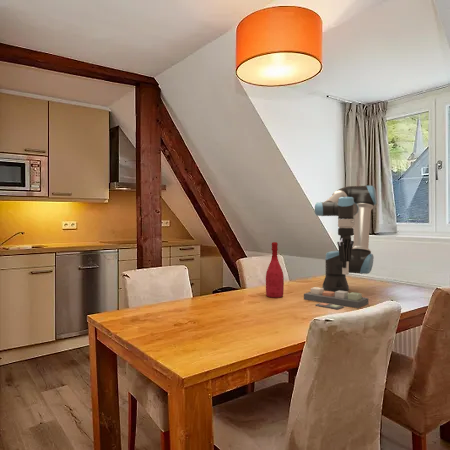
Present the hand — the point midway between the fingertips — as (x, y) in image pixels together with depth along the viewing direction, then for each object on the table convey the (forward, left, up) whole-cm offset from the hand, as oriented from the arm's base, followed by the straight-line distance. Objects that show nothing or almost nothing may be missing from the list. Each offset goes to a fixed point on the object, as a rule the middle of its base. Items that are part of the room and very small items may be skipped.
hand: (345, 274), depth 198 cm
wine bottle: (-37, -9, -15) cm, 41 cm away
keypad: (-6, +1, -15) cm, 16 cm away
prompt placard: (-3, -11, -15) cm, 19 cm away
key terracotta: (-9, +1, -14) cm, 17 cm away
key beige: (-2, +1, -13) cm, 13 cm away
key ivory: (-16, +1, -13) cm, 21 cm away
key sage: (+5, +1, -13) cm, 13 cm away
